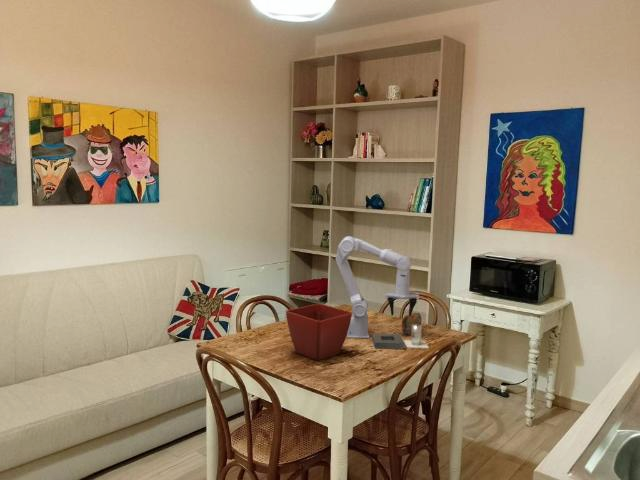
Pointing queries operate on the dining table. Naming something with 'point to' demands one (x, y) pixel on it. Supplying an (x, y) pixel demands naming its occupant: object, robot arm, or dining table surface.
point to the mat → (409, 345)
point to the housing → (387, 341)
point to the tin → (410, 322)
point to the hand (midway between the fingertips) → (401, 315)
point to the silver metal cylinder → (416, 334)
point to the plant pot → (318, 330)
